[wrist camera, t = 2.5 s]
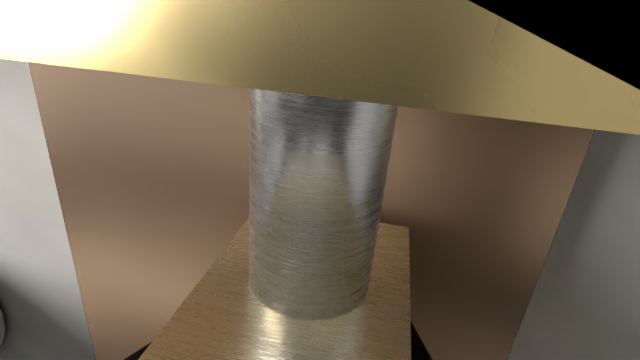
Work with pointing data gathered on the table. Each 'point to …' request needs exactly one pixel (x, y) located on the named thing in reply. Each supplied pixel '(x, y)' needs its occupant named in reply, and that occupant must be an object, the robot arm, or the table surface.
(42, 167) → the table surface
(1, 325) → the travel mug
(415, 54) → the gold slab
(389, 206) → the copper board
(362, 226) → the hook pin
